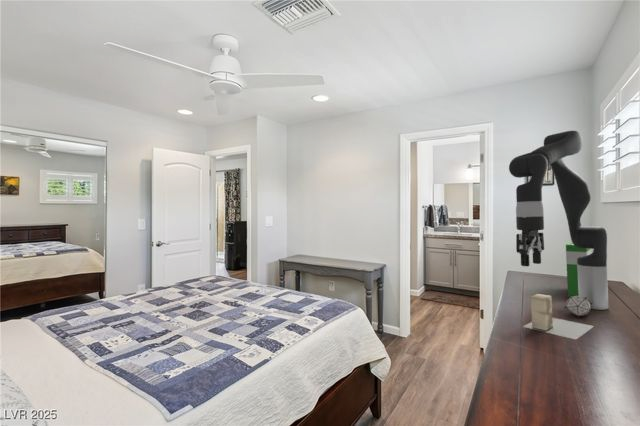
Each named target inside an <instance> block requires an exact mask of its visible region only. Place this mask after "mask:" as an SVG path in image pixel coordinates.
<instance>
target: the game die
mask: <svg viewBox="0 0 640 426" xmlns="http://www.w3.org/2000/svg"><path fill="white" fill-rule="evenodd" d="M568 297H569V298H568V299H564V301H565V302H566V304H565V306H564V307H563V309H567V310H568V311H569V314H573V315H575V316H577V318H578V319H579V318H580V317H581V316H586V317H589V315H588V314H589V313H590V312H591V313H592V312H594V311H593V309H592V310H591V309H590V304H593V303H589V302H588V301H587V300H586V298H587V297H585V298H583V297H580V296H579V294H577V296H570V295H569V296H568Z"/></svg>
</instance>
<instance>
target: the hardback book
mask: <svg viewBox="0 0 640 426" xmlns="http://www.w3.org/2000/svg"><path fill="white" fill-rule="evenodd" d="M592 250H593V249H589V248H578V247H575V246H574V245H573V243H572V241H571V242H568V243H566V244H565V254H566V255H565V256H566V258H565V260H566V280H567V297H569V295H570V296H571V297H572V296H577V294H579V292H578V271H577V258H579V257H582V256H587V255H590V254H592V253H593V251H592Z"/></svg>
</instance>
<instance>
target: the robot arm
mask: <svg viewBox="0 0 640 426" xmlns="http://www.w3.org/2000/svg"><path fill="white" fill-rule="evenodd" d="M583 143H584V142H583V137H582V134H581V133H580V132H579V131H577V130H567V131H562V132H558V133H552V134H549V135H547V136H545V138H544V139H543V145H542V146H540V147H538V148H536V149H534V150H532V151H531V152H530V151H529V152H527V153H524V154H521V155H518V156H515V157H514V158H513V159H511V160H510V163H509V165H508V172H509V174H511V176H512V177H514V178H519V179H520V178H528V177H530V178H529V180H528V181H527V182H525V183H523V184H519V185H518V186H517V187H516V189H515V193H516V206H515V216H516V217H515V223H516V230H518V231H521V233H517V234H516V235H515V237H516V238H515V240H516V243H515V244H516V245H515V247H516V249H515V250H516V253H518V254H519V255H520V265H521V267H529V266H531V265H530V251H532V263H533V264H537V265H540V264H542V252H543V251H544V250H545V240H544V232H539V231H543V230H544V229H545V222H544V221H545V219H544V218H545V217H544V204H543V192H542V191H543V184H544V180H545V177H546V174H547V170H548V168H549V166H550V167H551V170H552V173H553V175H554V178H555V182H556V186H557V189H558V194H559V197H560V200H561V203H562V206H563V208H564V212H565V216H566V220H567V226H568V231H569V235H570V239H571V240H570V241H571V242H572V243H573V245H574V246H575V247H578V248H589V249H592V250H593V251H592V254H590V255H587V256H582V257H579V258H577V271H578V292H579V296H580V297H583V298H585V297H587V298H586V300H587V301H588V302H589V303H593V304H590V309H592V310H600V311H601V310H604V311H605V310H608V309H609V286H608V267H607V266H608V265H607V259H608V251H607V250H608V234H607V230H606V229H605V227H603V226H598V225H597V226H594V225H593V226H585V225H582V224H581V218H582V216H583V214H584V212H585V211H586V209H587V207H588V206H589V204H590V202H591V194H590V190H589V185H588V183H587V181H586V180H585V179H584V178H583V177H581V176H580V175H579V174H578V173H577V172H575V171H574V170H573V169H572V168H570V167H569V166H568V165H567V164H566V163H565V161H564V158H565V157H569V156H574V155H575V154H576V155H577V154H579V153H580V151H582V149H583Z"/></svg>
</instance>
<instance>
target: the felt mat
mask: <svg viewBox="0 0 640 426" xmlns="http://www.w3.org/2000/svg"><path fill="white" fill-rule="evenodd" d="M552 318H553V328H552V329H550V330H549V331H547V332H545V333H547V334H552V335H554V336H555V335H556V336H559V337H563V338H567V339H572V340H575V341H576V340H578V339H579V338H581V336H584V334H586V333H587V332H589V331H590V330H591V329H593V328H594V327H595V326H594V325H591V324H590V325H589V324H586V323H580V322H576V321H570V320H566V319H561V318H556V317H552ZM522 328H527V329H530V330H534V331H536V330H535V329H532V321H530V322H529V323H528V322H527V324H524V325H522ZM537 331H539V330H537ZM539 332H540V331H539ZM541 332H542V333H544V332H543V331H541Z"/></svg>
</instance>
